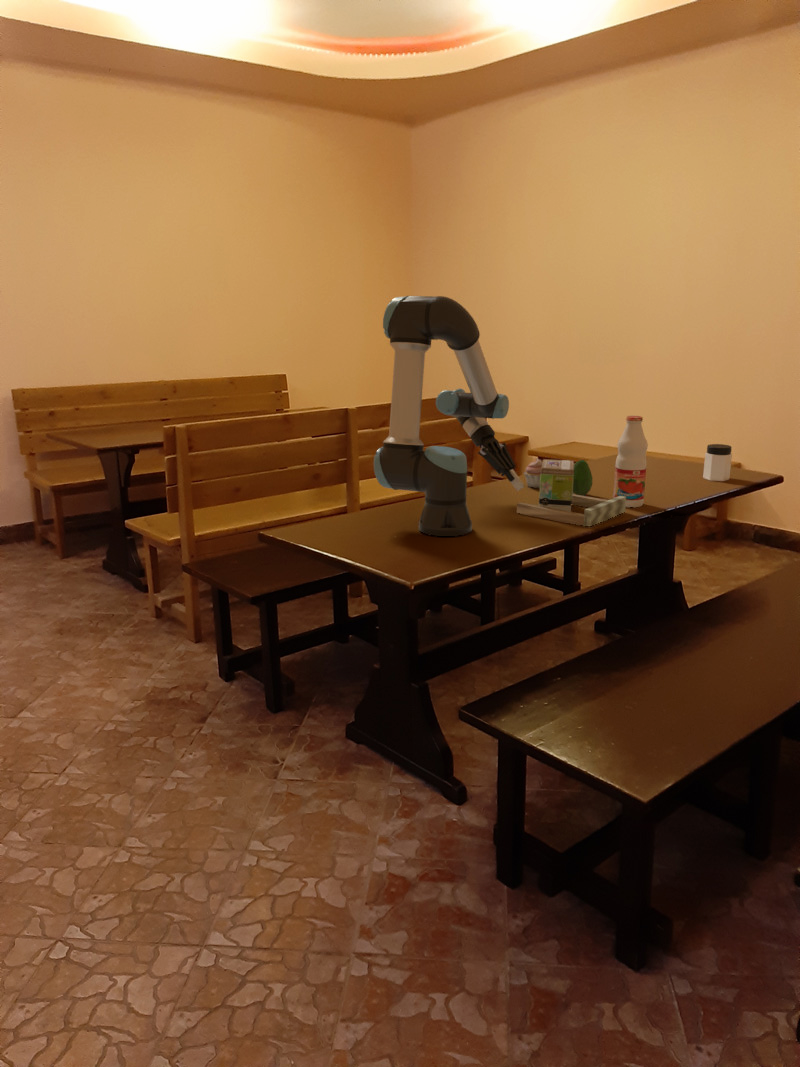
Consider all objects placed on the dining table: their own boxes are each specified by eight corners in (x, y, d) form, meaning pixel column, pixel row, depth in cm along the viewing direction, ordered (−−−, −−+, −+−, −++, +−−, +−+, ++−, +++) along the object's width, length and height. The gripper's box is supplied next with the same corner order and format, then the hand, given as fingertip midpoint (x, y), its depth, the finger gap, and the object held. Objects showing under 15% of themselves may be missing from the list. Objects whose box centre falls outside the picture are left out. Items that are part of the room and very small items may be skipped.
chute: (589, 527, 239) (590, 510, 238) (516, 513, 255) (517, 497, 254) (625, 512, 255) (626, 496, 254) (554, 499, 271) (554, 484, 269)
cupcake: (523, 483, 295) (524, 455, 292) (550, 484, 293) (551, 456, 290) (521, 488, 286) (522, 460, 283) (549, 490, 284) (550, 461, 282)
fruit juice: (638, 500, 269) (644, 414, 262) (647, 507, 260) (654, 418, 253) (609, 501, 269) (615, 414, 261) (617, 508, 260) (623, 419, 252)
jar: (733, 480, 297) (737, 447, 293) (713, 482, 295) (716, 448, 292) (719, 475, 305) (722, 443, 302) (699, 476, 303) (702, 444, 300)
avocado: (585, 492, 281) (587, 457, 278) (595, 497, 274) (597, 461, 271) (563, 493, 280) (565, 458, 276) (572, 498, 272) (574, 462, 269)
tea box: (571, 517, 250) (574, 468, 246) (537, 515, 252) (539, 467, 248) (571, 505, 265) (574, 459, 260) (539, 503, 267) (541, 458, 262)
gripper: (484, 435, 278) (524, 491, 272) (460, 440, 269) (501, 498, 263) (497, 421, 273) (539, 477, 268) (474, 425, 264) (516, 484, 258)
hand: (520, 488), depth 265 cm, fingers closed
